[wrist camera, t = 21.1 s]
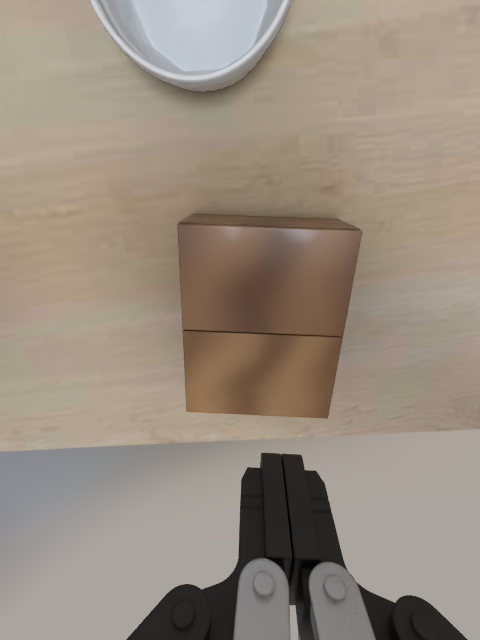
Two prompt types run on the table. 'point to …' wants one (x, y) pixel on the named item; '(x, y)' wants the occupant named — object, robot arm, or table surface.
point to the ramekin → (193, 37)
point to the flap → (260, 373)
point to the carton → (266, 273)
